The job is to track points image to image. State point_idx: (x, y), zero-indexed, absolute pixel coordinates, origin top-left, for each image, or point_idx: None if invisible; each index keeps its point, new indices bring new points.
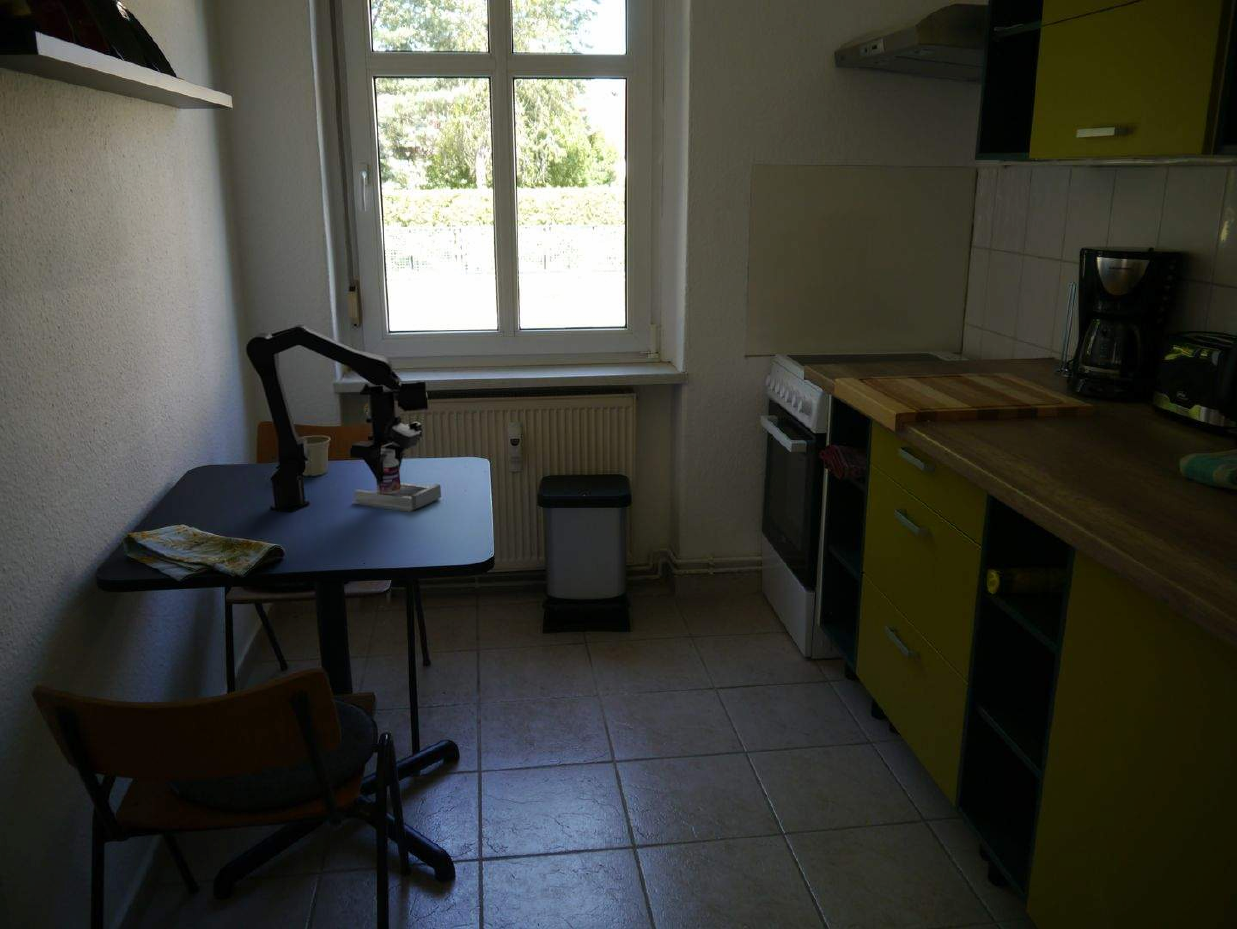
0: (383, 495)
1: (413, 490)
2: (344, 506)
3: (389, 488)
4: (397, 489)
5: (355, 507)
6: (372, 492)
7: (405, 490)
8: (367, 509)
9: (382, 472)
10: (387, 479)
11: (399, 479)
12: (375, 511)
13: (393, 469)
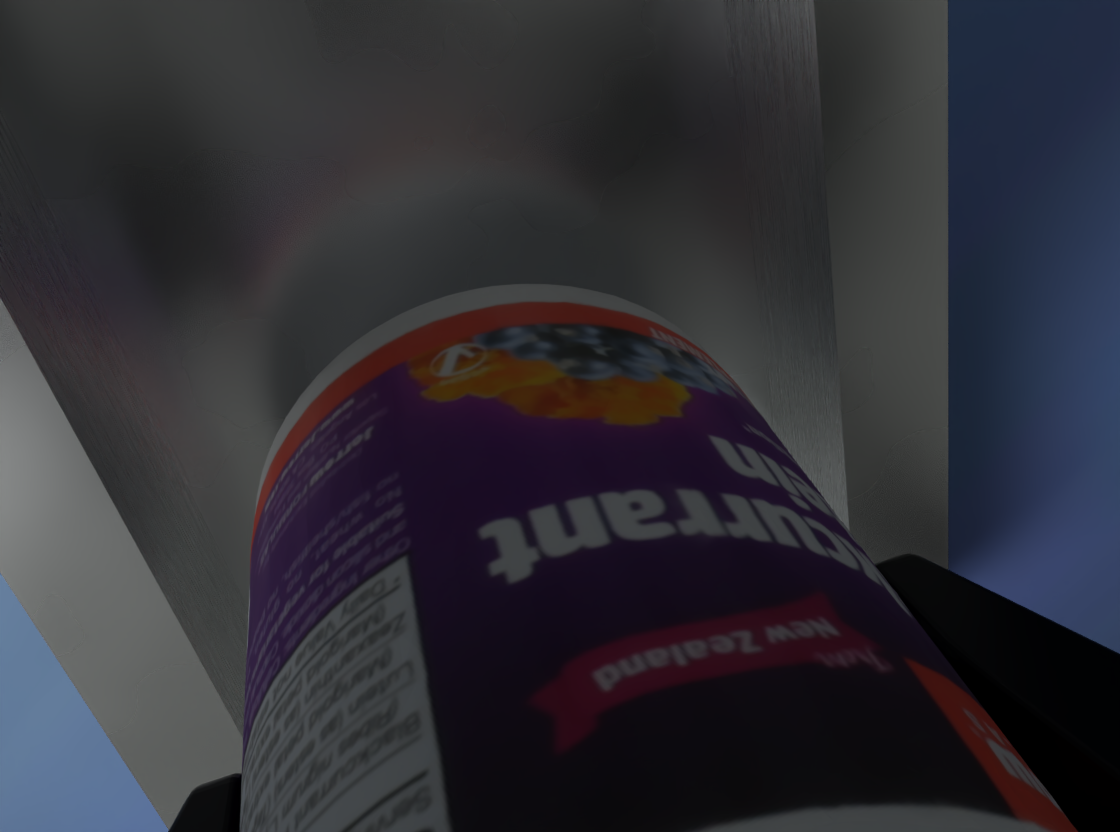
0: (939, 224)
1: (10, 213)
2: (1037, 597)
3: (714, 369)
4: (494, 308)
5: (1022, 468)
6: (903, 525)
7: (122, 419)
8: (1041, 257)
9: (1096, 724)
10: (837, 526)
11: (393, 486)
12: (1086, 51)
13: (786, 702)
